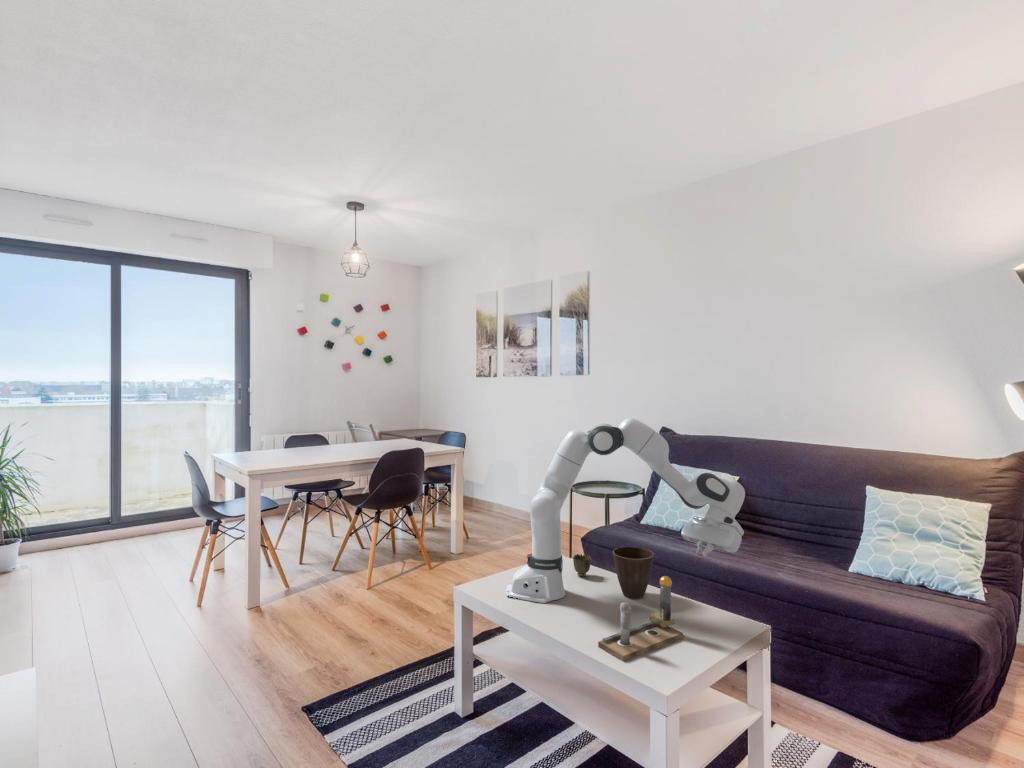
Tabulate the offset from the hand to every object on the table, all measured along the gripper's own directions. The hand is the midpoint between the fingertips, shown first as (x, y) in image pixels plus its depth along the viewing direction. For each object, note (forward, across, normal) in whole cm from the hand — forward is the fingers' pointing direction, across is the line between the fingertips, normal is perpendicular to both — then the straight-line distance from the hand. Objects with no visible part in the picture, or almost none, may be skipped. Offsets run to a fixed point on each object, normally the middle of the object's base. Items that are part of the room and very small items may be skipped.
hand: (700, 555), depth 171 cm
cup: (+19, -53, +11) cm, 58 cm away
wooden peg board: (+35, 0, -5) cm, 36 cm away
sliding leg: (+26, -1, +1) cm, 26 cm away
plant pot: (+17, -27, +13) cm, 35 cm away
